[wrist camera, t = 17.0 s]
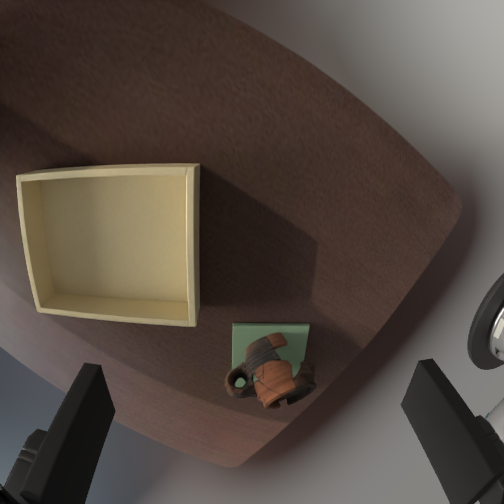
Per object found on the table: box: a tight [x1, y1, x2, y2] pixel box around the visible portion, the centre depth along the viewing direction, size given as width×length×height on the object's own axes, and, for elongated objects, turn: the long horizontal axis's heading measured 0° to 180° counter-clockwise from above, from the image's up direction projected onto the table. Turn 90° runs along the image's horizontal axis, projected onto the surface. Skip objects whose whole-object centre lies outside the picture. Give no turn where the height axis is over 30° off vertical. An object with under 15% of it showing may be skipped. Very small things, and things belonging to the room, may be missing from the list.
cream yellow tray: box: [16, 163, 200, 327], centre depth 34 cm, size 22×18×5 cm
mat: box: [232, 323, 310, 387], centre depth 43 cm, size 10×12×1 cm
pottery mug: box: [224, 332, 316, 409], centre depth 41 cm, size 12×10×8 cm
